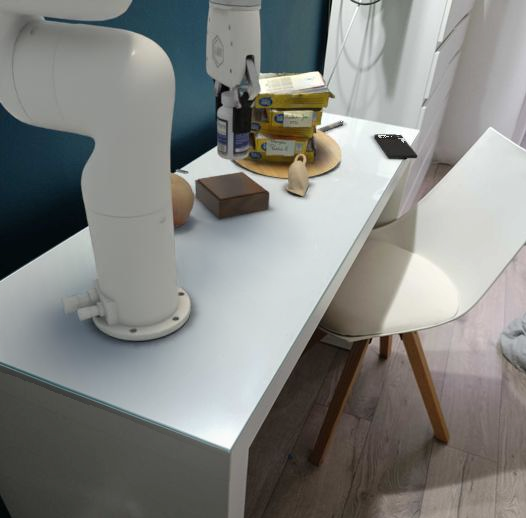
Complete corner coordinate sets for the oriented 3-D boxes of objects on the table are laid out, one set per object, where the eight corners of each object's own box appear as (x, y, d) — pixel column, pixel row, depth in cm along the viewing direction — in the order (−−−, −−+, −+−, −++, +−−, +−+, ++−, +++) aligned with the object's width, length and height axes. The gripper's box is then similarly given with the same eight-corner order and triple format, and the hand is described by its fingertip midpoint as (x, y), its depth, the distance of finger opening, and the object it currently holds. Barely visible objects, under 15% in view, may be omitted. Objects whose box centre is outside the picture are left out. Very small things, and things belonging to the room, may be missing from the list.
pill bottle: (249, 151, 89) (252, 91, 82) (246, 162, 85) (249, 99, 78) (219, 148, 89) (219, 88, 82) (214, 159, 85) (214, 96, 78)
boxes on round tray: (335, 184, 102) (350, 95, 91) (217, 169, 104) (217, 80, 93) (341, 145, 120) (354, 67, 110) (241, 133, 123) (243, 55, 112)
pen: (345, 118, 133) (340, 120, 134) (316, 129, 124) (312, 131, 125) (346, 122, 133) (341, 124, 134) (318, 133, 124) (313, 135, 125)
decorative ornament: (282, 194, 97) (284, 166, 93) (292, 178, 103) (295, 152, 99) (303, 197, 96) (306, 170, 93) (311, 181, 102) (315, 155, 99)
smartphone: (417, 158, 116) (400, 137, 127) (418, 154, 115) (400, 132, 126) (388, 158, 115) (373, 137, 127) (389, 154, 115) (374, 132, 126)
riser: (219, 219, 87) (219, 200, 85) (195, 196, 94) (194, 178, 91) (268, 209, 91) (269, 190, 89) (242, 188, 98) (243, 170, 95)
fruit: (138, 227, 83) (133, 180, 78) (162, 208, 89) (158, 163, 84) (182, 237, 81) (179, 190, 76) (202, 217, 87) (202, 172, 82)
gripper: (187, -13, 76) (191, 114, 88) (240, 4, 65) (236, 146, 77) (231, -13, 79) (229, 110, 91) (289, 3, 68) (278, 140, 80)
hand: (233, 125), depth 84 cm, fingers closed on pill bottle, 5 cm apart
